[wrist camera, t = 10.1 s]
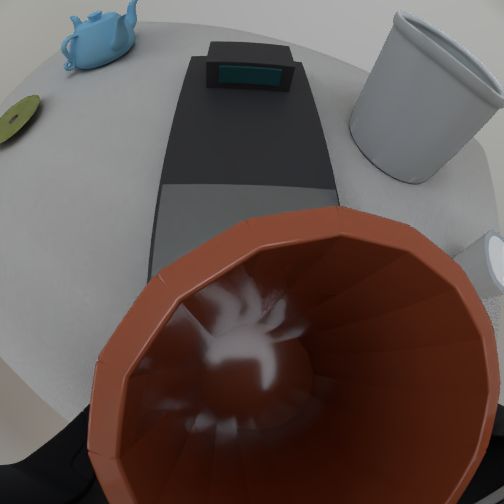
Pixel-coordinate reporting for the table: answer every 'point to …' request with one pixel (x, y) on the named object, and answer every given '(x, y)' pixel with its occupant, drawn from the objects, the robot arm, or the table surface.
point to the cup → (298, 371)
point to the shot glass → (485, 264)
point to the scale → (239, 148)
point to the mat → (17, 116)
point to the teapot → (100, 38)
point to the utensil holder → (422, 101)
